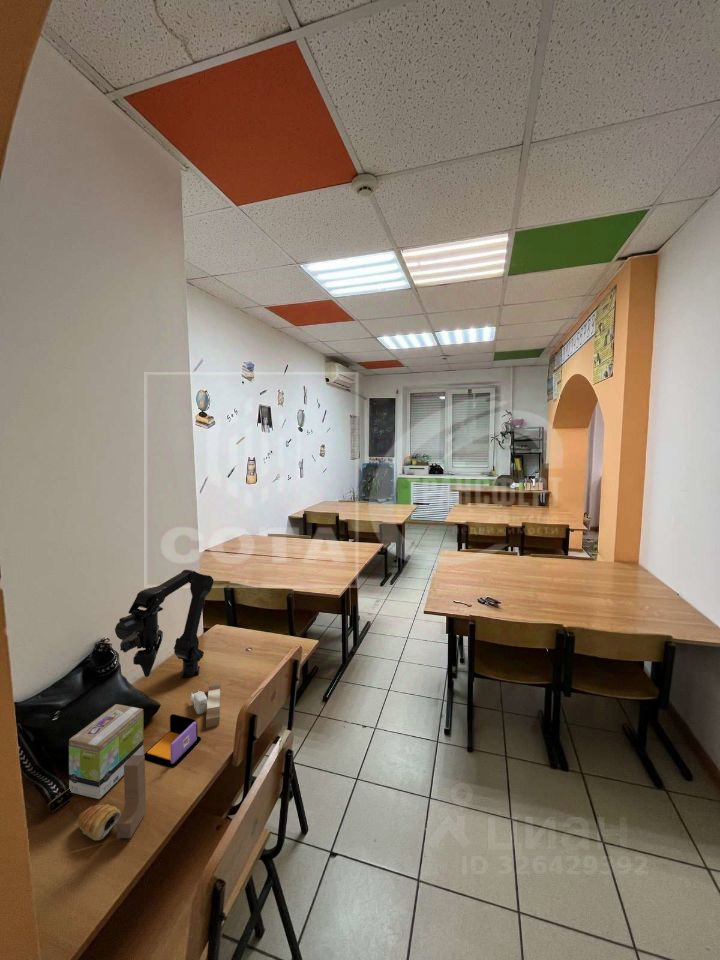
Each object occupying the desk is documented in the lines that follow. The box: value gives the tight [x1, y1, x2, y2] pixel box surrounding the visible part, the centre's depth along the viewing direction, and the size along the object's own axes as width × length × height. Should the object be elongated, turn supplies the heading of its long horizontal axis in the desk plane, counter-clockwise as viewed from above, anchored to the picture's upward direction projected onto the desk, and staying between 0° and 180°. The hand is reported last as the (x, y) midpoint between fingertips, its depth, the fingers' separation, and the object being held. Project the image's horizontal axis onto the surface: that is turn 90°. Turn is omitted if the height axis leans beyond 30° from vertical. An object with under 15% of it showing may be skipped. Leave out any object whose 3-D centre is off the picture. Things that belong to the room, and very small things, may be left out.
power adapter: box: [189, 689, 208, 715], centre depth 133 cm, size 10×4×5 cm, turn 39°
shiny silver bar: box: [205, 681, 221, 728], centre depth 132 cm, size 20×4×3 cm, turn 19°
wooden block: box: [115, 754, 147, 839], centre depth 90 cm, size 7×3×15 cm, turn 0°
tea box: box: [68, 703, 144, 800], centre depth 104 cm, size 15×10×15 cm
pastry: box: [76, 803, 122, 841], centre depth 90 cm, size 9×7×4 cm
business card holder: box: [143, 713, 202, 769], centre depth 114 cm, size 12×12×7 cm
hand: (149, 669), depth 134 cm, fingers open, 9 cm apart
